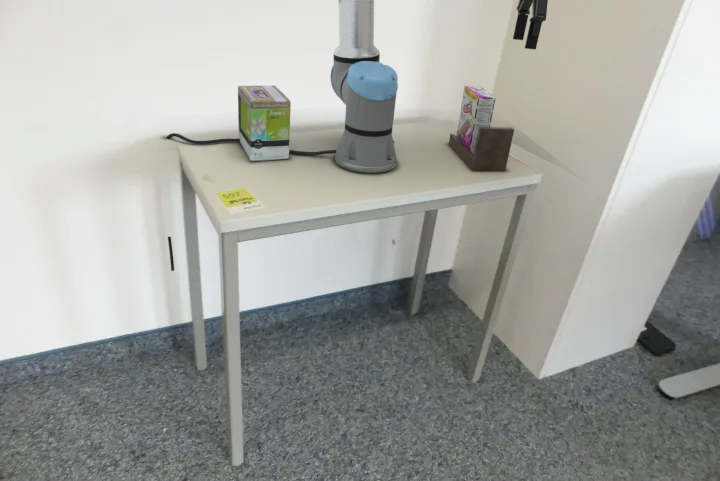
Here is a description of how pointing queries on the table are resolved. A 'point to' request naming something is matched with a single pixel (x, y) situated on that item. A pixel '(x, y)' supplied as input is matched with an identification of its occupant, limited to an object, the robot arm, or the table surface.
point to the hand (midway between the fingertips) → (523, 44)
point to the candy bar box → (474, 114)
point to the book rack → (486, 149)
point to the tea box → (264, 122)
